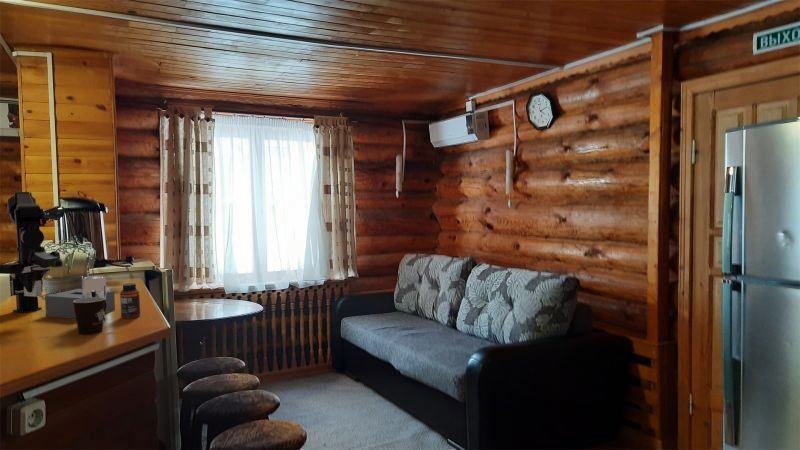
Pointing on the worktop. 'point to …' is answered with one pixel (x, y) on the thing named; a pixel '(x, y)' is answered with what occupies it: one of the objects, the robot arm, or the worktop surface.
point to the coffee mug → (90, 314)
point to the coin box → (71, 303)
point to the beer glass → (94, 288)
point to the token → (34, 289)
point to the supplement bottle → (130, 301)
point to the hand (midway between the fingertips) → (32, 291)
